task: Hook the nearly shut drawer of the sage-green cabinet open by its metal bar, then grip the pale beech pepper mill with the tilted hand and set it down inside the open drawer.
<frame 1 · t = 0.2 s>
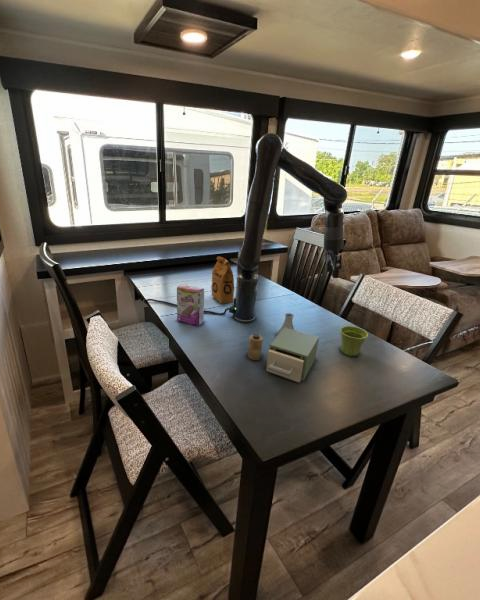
hand: (332, 274, 132), 22 cm above the table, tool pointing down, fingers open, 8 cm apart
drawer: (288, 360, 103), point 5 cm above the table, slide at 1.5 cm
coffee package: (222, 299, 162), on the table
pepper mill: (254, 356, 114), on the table
flask: (286, 337, 128), on the table
plant pot: (349, 352, 118), on the table
cabinet: (291, 364, 110), on the table
candy bar box: (190, 322, 138), on the table
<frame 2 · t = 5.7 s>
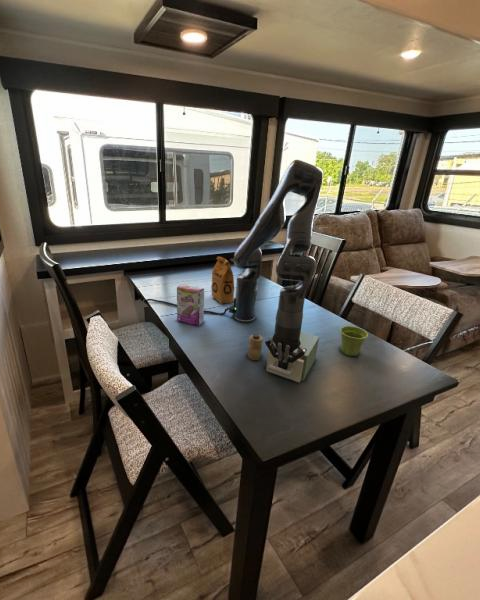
hand: (282, 370, 98), 5 cm above the table, tool pointing down, fingers closed
drawer: (288, 360, 103), point 5 cm above the table, slide at 1.5 cm, touching gripper
everything else where it was.
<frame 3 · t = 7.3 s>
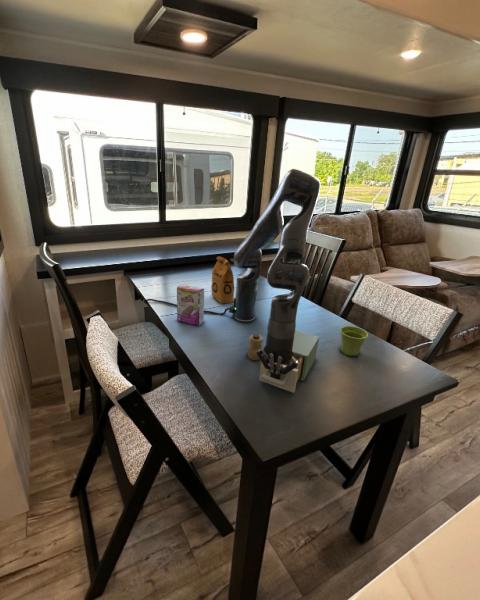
hand: (274, 381, 94), 4 cm above the table, tool pointing down, fingers closed
drawer: (282, 368, 99), point 5 cm above the table, slide at 7.4 cm
everything else where it was.
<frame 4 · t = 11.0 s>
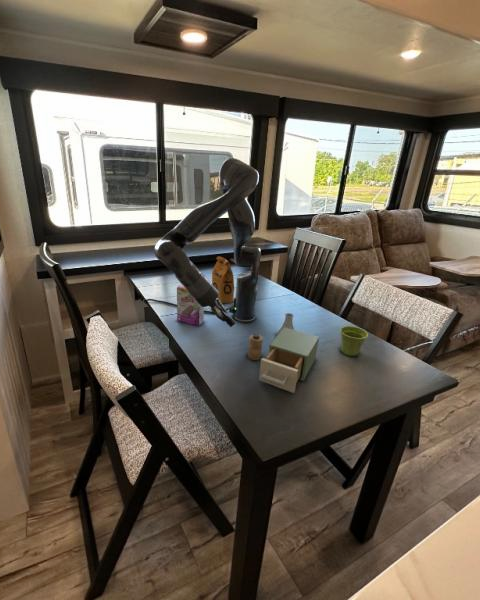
hand: (232, 324, 107), 14 cm above the table, tool tilted 40°, fingers closed
nothing on the table moved.
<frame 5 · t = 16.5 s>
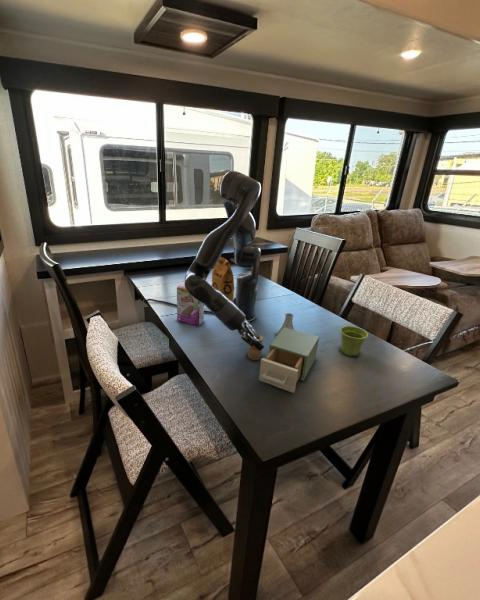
hand: (260, 344, 112), 5 cm above the table, tool tilted 45°, fingers closed on pepper mill, 4 cm apart
pepper mill: (254, 356, 114), on the table, touching gripper
everything else where it was.
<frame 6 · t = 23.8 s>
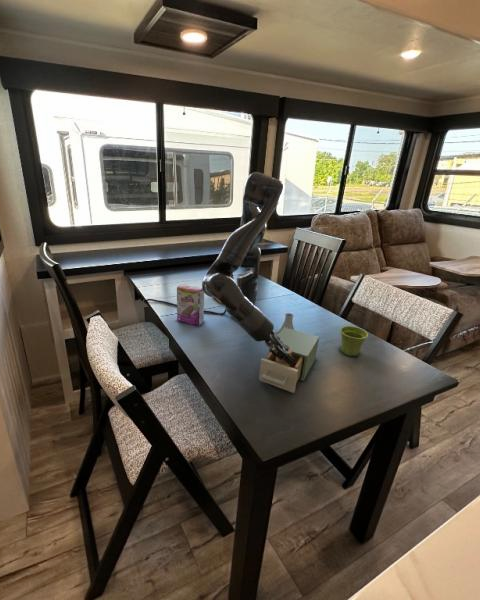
hand: (289, 357, 97), 9 cm above the table, tool tilted 45°, fingers closed on pepper mill, 4 cm apart
pepper mill: (281, 370, 99), point 4 cm above the table, touching gripper
everything else where it was.
when the fingers open (10 cm above the table, at t = 30.2 s): pepper mill drops 2 cm, resting on drawer.
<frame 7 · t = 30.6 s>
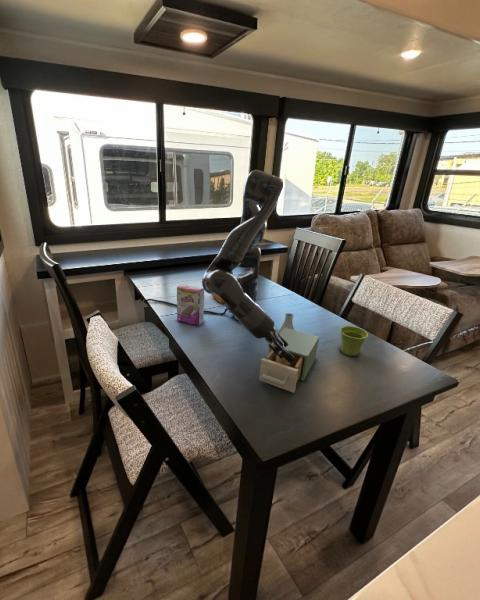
hand: (288, 353, 97), 11 cm above the table, tool tilted 45°, fingers open, 8 cm apart
drawer: (282, 368, 99), point 5 cm above the table, slide at 7.4 cm, touching pepper mill
pepper mill: (281, 376, 100), point 2 cm above the table, touching drawer
everything else where it was.
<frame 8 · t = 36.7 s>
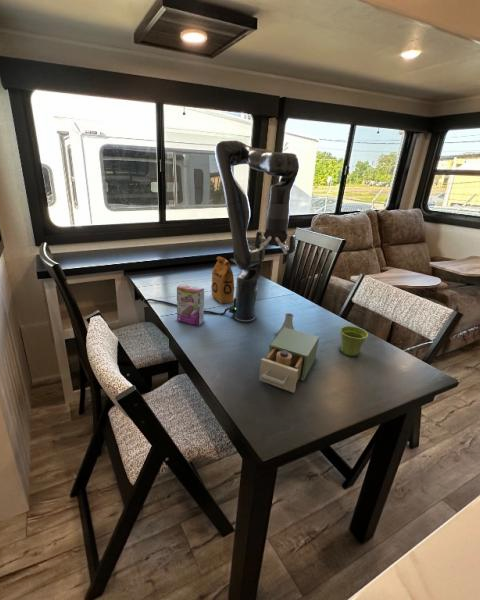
hand: (272, 261, 114), 32 cm above the table, tool pointing down, fingers open, 8 cm apart
nothing on the table moved.
at the end: drawer slide at 7.4 cm; pepper mill inside the target area in the drawer (1.4 cm from its centre), point 2.0 cm above the cabinet's base; the gripper is holding nothing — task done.
